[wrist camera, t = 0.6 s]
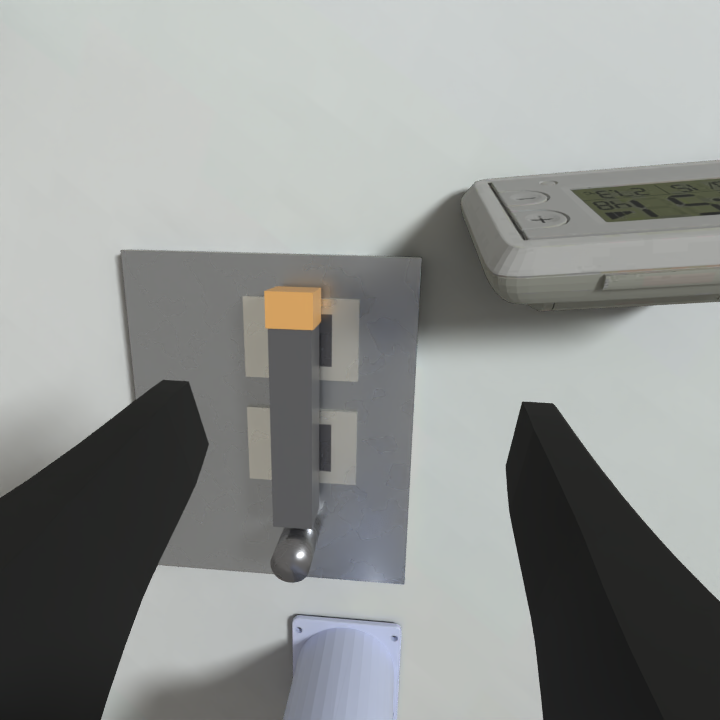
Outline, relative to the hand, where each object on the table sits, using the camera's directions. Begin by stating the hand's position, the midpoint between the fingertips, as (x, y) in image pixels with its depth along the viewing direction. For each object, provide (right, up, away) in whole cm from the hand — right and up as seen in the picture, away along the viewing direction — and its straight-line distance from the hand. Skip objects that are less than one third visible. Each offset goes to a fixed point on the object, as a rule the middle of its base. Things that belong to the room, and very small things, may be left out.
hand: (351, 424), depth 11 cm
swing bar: (-4, -1, +19) cm, 19 cm away
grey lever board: (-5, -3, +21) cm, 22 cm away
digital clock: (+14, +9, +17) cm, 24 cm away
